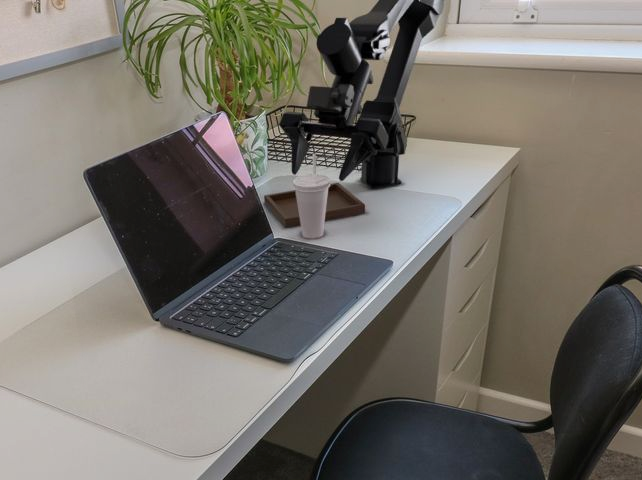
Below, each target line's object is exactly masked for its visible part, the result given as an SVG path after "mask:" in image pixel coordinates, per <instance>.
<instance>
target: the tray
mask: <svg viewBox="0 0 642 480" xmlns="http://www.w3.org/2000/svg"><path fill="white" fill-rule="evenodd" d="M263 198H264V199H263V201H264V206H266V207H267V209H269V211H270V212H271V213H272V214H273V215H274V216H275V218H276V219H277V220H278V221H279V222H280V223H281V224H282V226H283V227H284V228H285V229H288V228H292V227H298V226H301V223H300V217H299V211H298V205H297V198H296V192H295V189H293V190H287V191H281V192H276V193H275V192H274V193H270V194H269V193H268V194H264V195H263ZM364 214H366V204H365V203H364V202H362V201H361V200H360V199H359V198H358V197H357V196H355V194H353V193H352V192H350V191H349V190H348V189H347V188H345V186H343V185H342V184H341V183H340V182H334V183H330V187H329V188H328V196H327V204H326V213H325V222H326V221H330V220H337V219H341V218H347V217H354V216H359V215H364Z"/></svg>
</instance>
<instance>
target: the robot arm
mask: <svg viewBox="0 0 642 480" xmlns="http://www.w3.org/2000/svg"><path fill="white" fill-rule="evenodd" d="M444 6H445V0H378V1H377V2H376V3H375V4H374V6H373V7H372V8H371V10H370V11H369V12H367V13H365V14H362V15H359V16H357V17H355V18H353V19H352V20H351V21H349V19H348V17H335V19H334V21H333V23H331V24H330V25H328V26H326V27H325V28H324V29H322V31H321V32H320V33H319V34H318V36H317V38H316V48H317V51H318V52H319V54H320V56H321V58H322V60H323V62H324V63H325V66H326V68H327V69H328V71H329V73H330V74H332V75H333V76H334V79H333V81H332V84H331V86H316V85H312V86H309V90H308V95H307V101H306V108H308V109H312V110H314V112H313V115H314V116H315V118H317V119H318V121H317V122H316V121H310V120H309V118H308V117H307V115H306V114H305V112H298V111H285V112H283V114H282V115H281V117H280V120H279V123H278V125H279V127H280V128H281V130H282V131H283V133H284V134H285V135H286V136H287V138H288V140H290V146H291V173H292V175H293V176H295V175H297V173H298V172H299V170H300V169H301V166H302V164H303V162H304V160H305V159H306V156H307V154H308V152H309V150H310V147H311V145H310V143H309V142H310V141H311V140H312V139H313V136H314V135H318V136H328V137H339V138H348V139H350V144H349V148H348V151H347V153H346V155H345V158H344V161H343V163H342V166H341V168H340V172H339V175H338V180H339V181H340V182H343V181H345V179H346V178H348V176H349V175H351V173H352V172H354V171H355V169H357V168H358V167H359V165H361V172H360V173H361V177H359V180H360V182H362V183H364V184H365V185H367V187H369V188H370V189H371V190H372V189H373V190H375V189H381V188H385V187H386V188H387V187H391V186H397V185H401V184H402V180H400V179H399V164H400V156H402V155H405V154H406V149H407V146H408V137H407V135H406V133H405V130H404V128H403V123H404V122H403V118H402V114H401V110H400V107H401V105H402V100H403V98H404V94H405V92H406V89H407V86H408V82H409V79H410V76H411V73H412V70H413V68H414V65H415V61H416V58H417V56H418V52H419V50H420V46H421V43H422V41H423V39H424V38H425V37H426V36H427V35H428V34H429V33H430V32H431V31H433V30H434V29H435V28H436V25H437V23H438V20H439V18H440V16H441V15H442V14H443V11H444ZM397 24H398V27H399V28H398V30H397V31H398V32H397V35H396V37H395V41H394V43H393V47H392V50H391V53H390V56H389V58H388V61H387V65H386V68H385V71H384V74H383V76H382V80H381V83H380V85H379V89H378V92H377V95H376V96H375V98H374V99H373V100H369V99H367V100H365V102H364V103H363V105H361V103H362V101H363V98H364V96H365V92H366V89H367V87H368V85H372V84H374V76H373V70H372V68H371V66H370V64H369V62H368V61H381V60H382V59H383V57H384V56H385V54H386V53H387V52H388V49H389V47H390V45H391V38H390V37H391V36H390V34H391V32H392V30H393V29H394V27H395V26H396V25H397ZM357 114H358V115H359V117H358V118H357V120H356V117H357ZM355 120H356V123H355ZM354 123H355V125H354Z"/></svg>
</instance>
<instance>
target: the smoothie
mask: <svg viewBox="0 0 642 480" xmlns="http://www.w3.org/2000/svg"><path fill="white" fill-rule="evenodd" d="M330 184H331V178H330V177H329V176H328V175H325V174H319V173H318V174H317V153H312V174H311V173H310V174H303V175H300V176H297V177H295V178H293V180H292V188H293V190H295V192H296V198H297V205H298V211H299V217H300V223H301V225H300V229H301V236H302V237H303V238H305V239H318V238H321V237H322V236H323V235H324V231H325V222H326V221H325V213H326V204H327V196H328V188H329V187H330Z"/></svg>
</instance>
